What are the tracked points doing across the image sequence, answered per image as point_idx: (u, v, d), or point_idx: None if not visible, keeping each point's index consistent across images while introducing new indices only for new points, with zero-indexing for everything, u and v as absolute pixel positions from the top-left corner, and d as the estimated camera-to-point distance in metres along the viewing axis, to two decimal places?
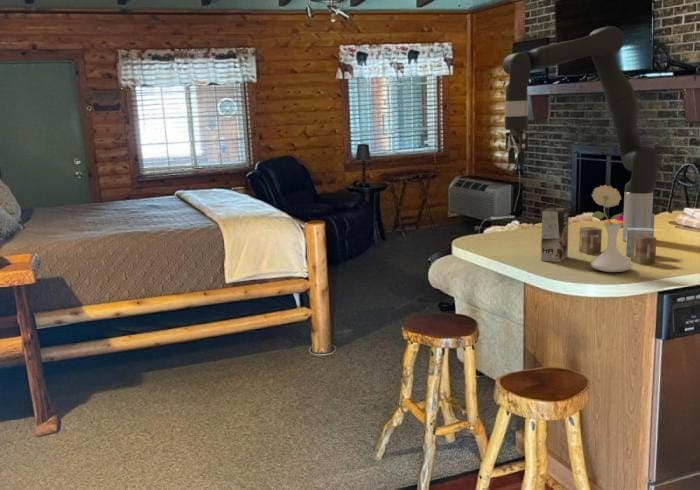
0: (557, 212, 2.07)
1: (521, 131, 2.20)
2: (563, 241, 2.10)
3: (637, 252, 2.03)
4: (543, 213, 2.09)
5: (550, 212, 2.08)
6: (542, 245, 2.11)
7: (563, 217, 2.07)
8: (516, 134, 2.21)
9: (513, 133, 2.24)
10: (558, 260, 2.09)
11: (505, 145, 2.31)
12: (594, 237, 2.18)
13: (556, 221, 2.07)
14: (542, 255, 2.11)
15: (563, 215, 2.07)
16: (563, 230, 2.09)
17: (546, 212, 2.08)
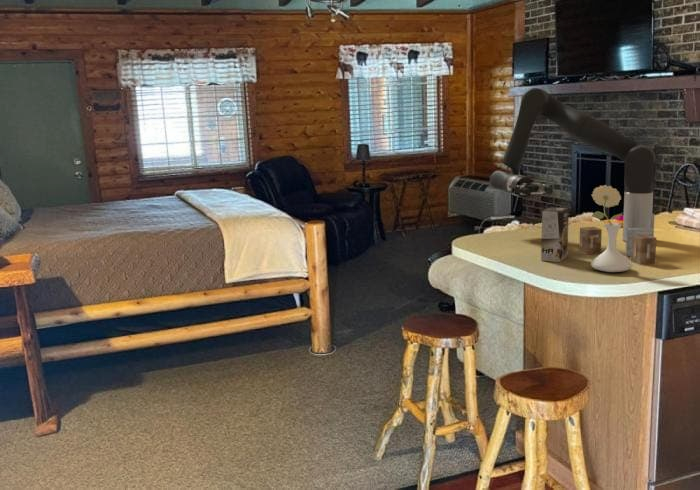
0: (557, 212, 2.07)
1: None
2: (563, 241, 2.10)
3: (637, 252, 2.03)
4: (543, 213, 2.09)
5: (550, 212, 2.08)
6: (542, 245, 2.11)
7: (563, 217, 2.07)
8: None
9: None
10: (558, 260, 2.09)
11: None
12: (594, 237, 2.18)
13: (556, 221, 2.07)
14: (542, 255, 2.11)
15: (563, 215, 2.07)
16: (563, 230, 2.09)
17: (546, 212, 2.08)
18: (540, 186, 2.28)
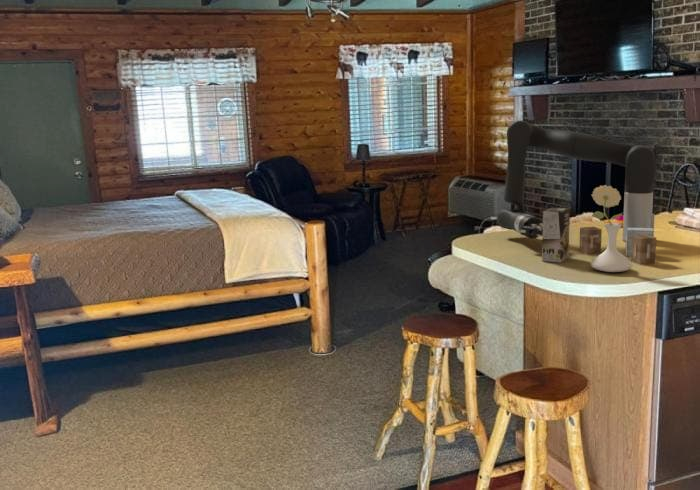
0: (558, 212, 2.06)
1: None
2: (564, 241, 2.09)
3: (637, 252, 2.03)
4: (544, 213, 2.08)
5: (551, 212, 2.07)
6: (543, 245, 2.10)
7: (564, 217, 2.06)
8: None
9: None
10: (559, 260, 2.08)
11: None
12: (595, 237, 2.18)
13: (557, 221, 2.06)
14: (543, 255, 2.11)
15: (564, 215, 2.06)
16: (564, 230, 2.08)
17: (547, 212, 2.08)
18: (542, 228, 2.23)
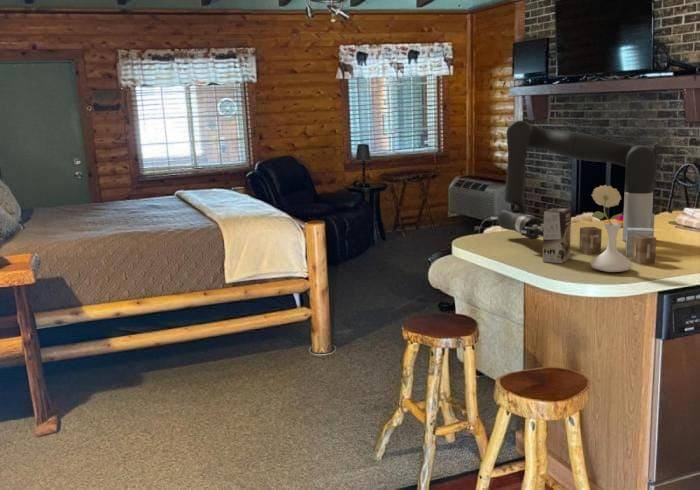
0: (559, 213, 2.05)
1: None
2: (565, 242, 2.08)
3: (637, 252, 2.03)
4: (545, 214, 2.07)
5: (552, 213, 2.06)
6: (544, 246, 2.09)
7: (564, 218, 2.06)
8: None
9: None
10: (560, 261, 2.07)
11: None
12: (594, 237, 2.18)
13: (558, 222, 2.06)
14: (544, 256, 2.10)
15: (565, 216, 2.06)
16: (565, 231, 2.07)
17: (548, 213, 2.07)
18: (543, 228, 2.22)
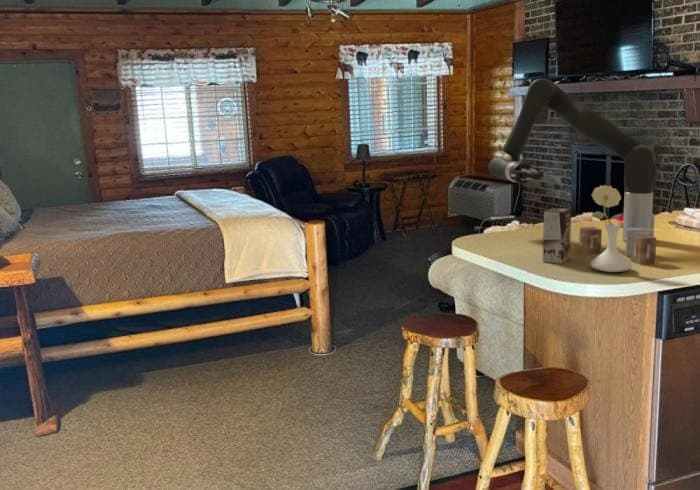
0: (559, 213, 2.05)
1: None
2: (565, 242, 2.08)
3: (637, 252, 2.03)
4: (545, 214, 2.07)
5: (552, 213, 2.06)
6: (544, 246, 2.09)
7: (565, 218, 2.06)
8: None
9: None
10: (560, 261, 2.07)
11: None
12: (595, 237, 2.18)
13: (558, 222, 2.06)
14: (544, 256, 2.10)
15: (565, 216, 2.06)
16: (565, 231, 2.07)
17: (548, 213, 2.07)
18: (531, 172, 2.29)
